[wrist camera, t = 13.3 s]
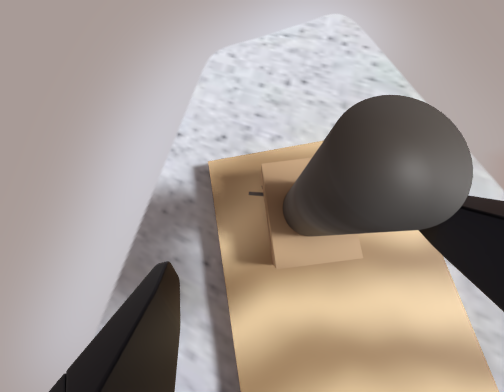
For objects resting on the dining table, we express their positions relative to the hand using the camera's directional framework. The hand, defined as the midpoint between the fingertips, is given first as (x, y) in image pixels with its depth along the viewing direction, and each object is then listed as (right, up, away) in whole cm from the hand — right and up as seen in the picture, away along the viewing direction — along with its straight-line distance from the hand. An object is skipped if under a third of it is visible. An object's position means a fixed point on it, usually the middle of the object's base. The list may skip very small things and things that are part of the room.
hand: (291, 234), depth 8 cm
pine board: (+5, -4, +9) cm, 11 cm away
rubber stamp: (+2, 0, +9) cm, 9 cm away
